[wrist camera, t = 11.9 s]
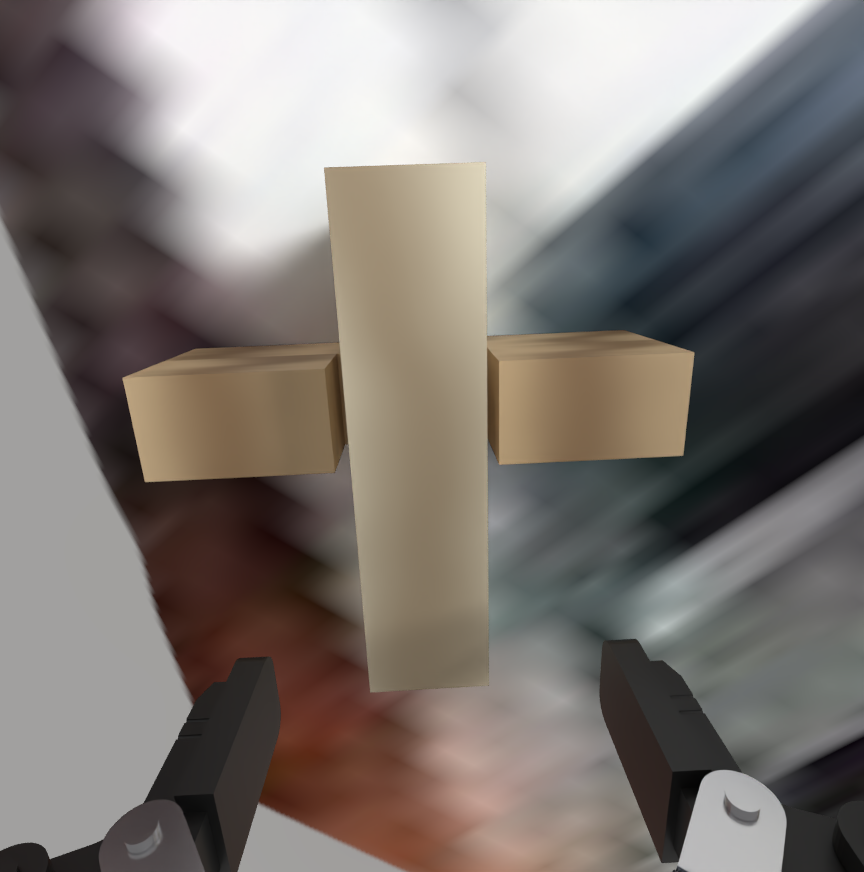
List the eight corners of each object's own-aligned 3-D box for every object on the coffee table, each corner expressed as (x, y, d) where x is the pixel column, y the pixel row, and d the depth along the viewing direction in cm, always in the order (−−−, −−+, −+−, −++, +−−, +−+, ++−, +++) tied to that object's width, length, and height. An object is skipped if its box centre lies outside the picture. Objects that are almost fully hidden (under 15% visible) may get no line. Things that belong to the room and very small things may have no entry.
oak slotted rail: (624, 330, 23) (694, 352, 17) (618, 409, 24) (683, 455, 18) (195, 348, 23) (122, 378, 17) (209, 429, 24) (144, 482, 18)
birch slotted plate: (452, 207, 21) (485, 162, 12) (460, 528, 26) (488, 685, 16) (363, 210, 21) (323, 167, 12) (385, 531, 25) (370, 692, 16)
